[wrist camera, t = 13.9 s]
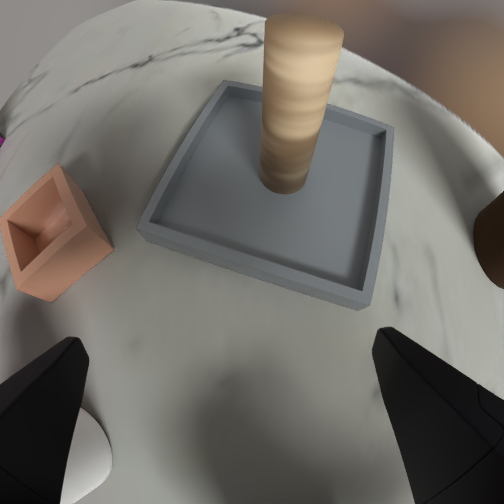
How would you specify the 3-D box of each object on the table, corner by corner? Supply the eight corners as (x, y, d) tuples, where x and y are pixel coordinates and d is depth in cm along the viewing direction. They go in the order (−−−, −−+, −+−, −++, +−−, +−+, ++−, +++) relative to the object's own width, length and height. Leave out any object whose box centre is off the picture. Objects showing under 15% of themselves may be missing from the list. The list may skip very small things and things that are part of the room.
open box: (114, 249, 23) (86, 225, 19) (51, 302, 22) (16, 289, 17) (82, 190, 25) (58, 162, 21) (28, 239, 24) (-2, 219, 19)
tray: (385, 142, 27) (394, 127, 25) (358, 310, 22) (369, 305, 19) (225, 96, 29) (223, 80, 27) (145, 240, 24) (135, 228, 21)
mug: (57, 501, 15) (-6, 534, 5) (12, 431, 17) (-61, 440, 7) (134, 466, 17) (69, 517, 8) (77, 383, 19) (-10, 387, 10)
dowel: (315, 180, 24) (359, 38, 11) (278, 202, 24) (301, 50, 10) (287, 149, 25) (307, 9, 12) (250, 169, 25) (249, 20, 11)
